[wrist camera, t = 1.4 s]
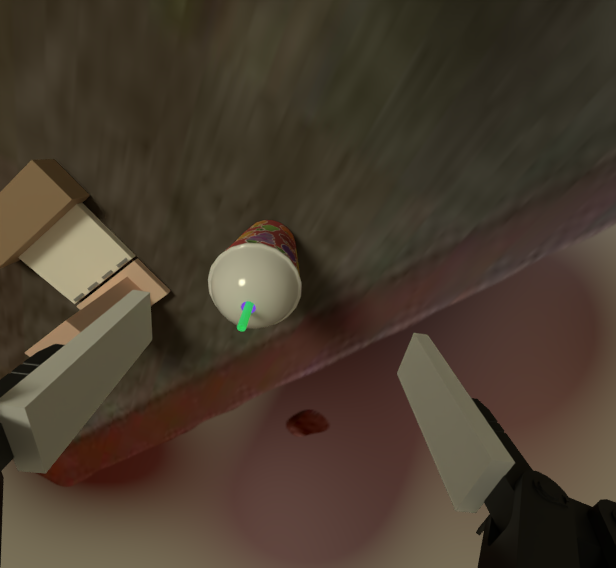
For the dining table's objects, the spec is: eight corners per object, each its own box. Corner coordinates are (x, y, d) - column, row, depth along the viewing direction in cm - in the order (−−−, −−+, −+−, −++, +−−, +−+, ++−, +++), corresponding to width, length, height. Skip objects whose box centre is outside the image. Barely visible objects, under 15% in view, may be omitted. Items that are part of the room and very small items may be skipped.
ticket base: (-22, 228, 36) (-48, 234, 34) (50, 155, 33) (27, 155, 30) (72, 305, 41) (56, 316, 39) (143, 249, 38) (131, 257, 35)
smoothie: (241, 271, 40) (189, 372, 21) (236, 210, 36) (170, 271, 18) (301, 272, 40) (299, 374, 22) (302, 212, 36) (302, 274, 18)
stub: (81, 302, 41) (1, 357, 30) (137, 258, 38) (72, 300, 27) (114, 331, 43) (52, 391, 32) (170, 290, 41) (122, 341, 30)
